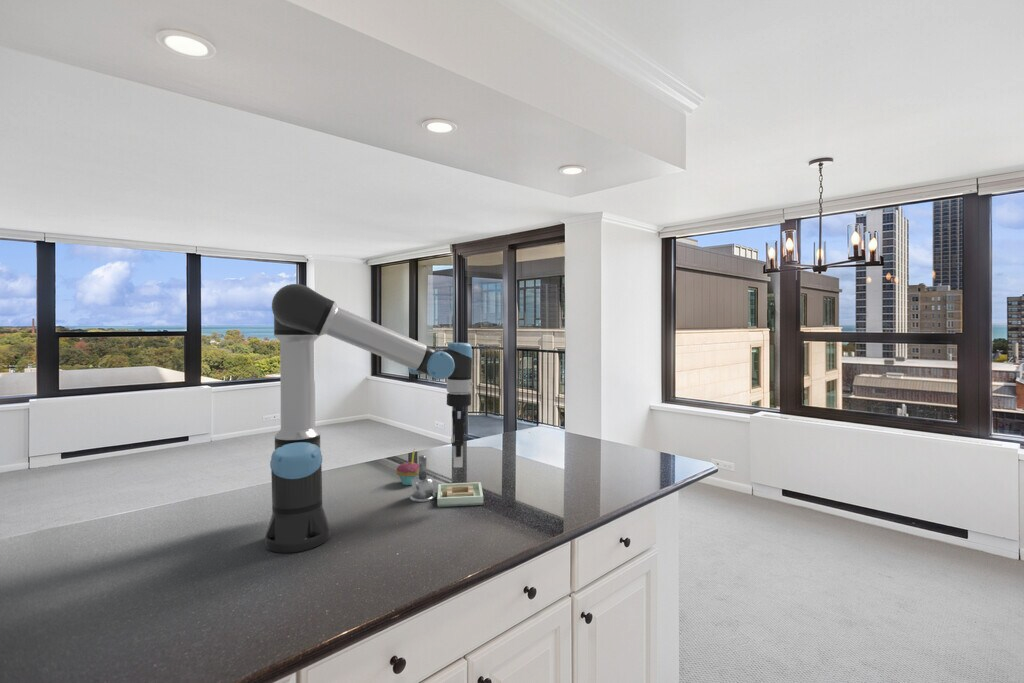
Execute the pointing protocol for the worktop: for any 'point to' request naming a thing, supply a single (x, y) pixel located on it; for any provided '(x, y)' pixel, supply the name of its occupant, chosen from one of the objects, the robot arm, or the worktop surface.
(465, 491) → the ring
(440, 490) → the tray
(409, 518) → the worktop surface
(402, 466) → the cupcake
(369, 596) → the worktop surface
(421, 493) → the silver bell-shaped piece
